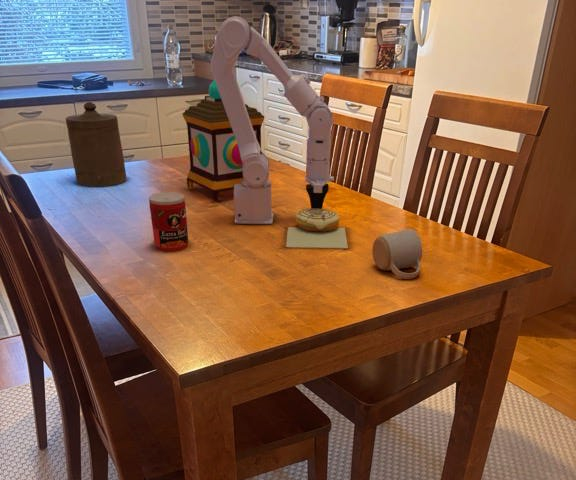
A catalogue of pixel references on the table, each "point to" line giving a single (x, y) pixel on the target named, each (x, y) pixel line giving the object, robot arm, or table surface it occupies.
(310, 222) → the decorated donut
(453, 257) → the table surface
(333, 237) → the placemat
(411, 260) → the ceramic mug
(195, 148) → the decorative lantern
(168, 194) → the canned food
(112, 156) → the wooden container
